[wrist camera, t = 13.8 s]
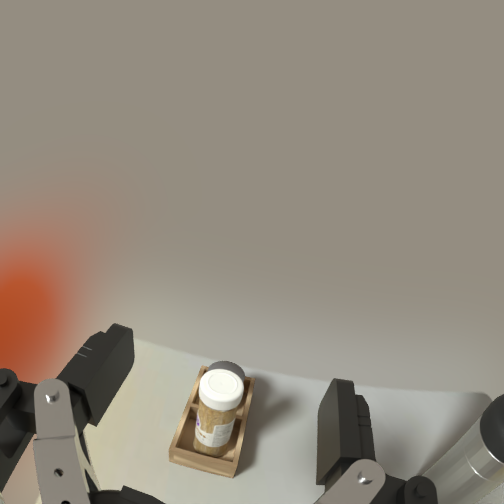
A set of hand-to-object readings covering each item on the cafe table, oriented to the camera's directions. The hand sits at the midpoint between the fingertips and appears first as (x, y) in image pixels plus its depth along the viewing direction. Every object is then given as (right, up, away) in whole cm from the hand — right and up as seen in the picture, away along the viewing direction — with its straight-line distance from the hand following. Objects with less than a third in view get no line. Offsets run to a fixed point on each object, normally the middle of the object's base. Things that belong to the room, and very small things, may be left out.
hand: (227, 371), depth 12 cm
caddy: (-4, -20, +28) cm, 34 cm away
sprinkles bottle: (-4, -21, +24) cm, 32 cm away
